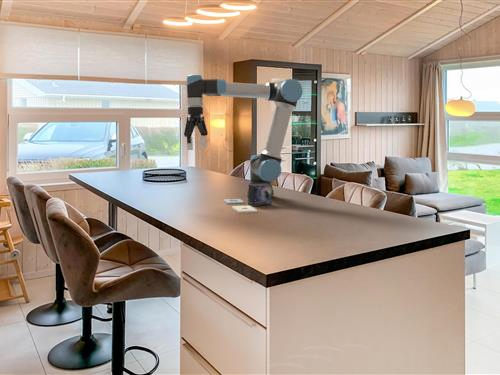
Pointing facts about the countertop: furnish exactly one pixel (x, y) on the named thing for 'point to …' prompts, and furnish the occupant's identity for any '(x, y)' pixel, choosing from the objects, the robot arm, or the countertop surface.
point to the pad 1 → (233, 201)
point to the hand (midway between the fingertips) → (196, 149)
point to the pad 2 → (244, 209)
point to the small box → (260, 194)
